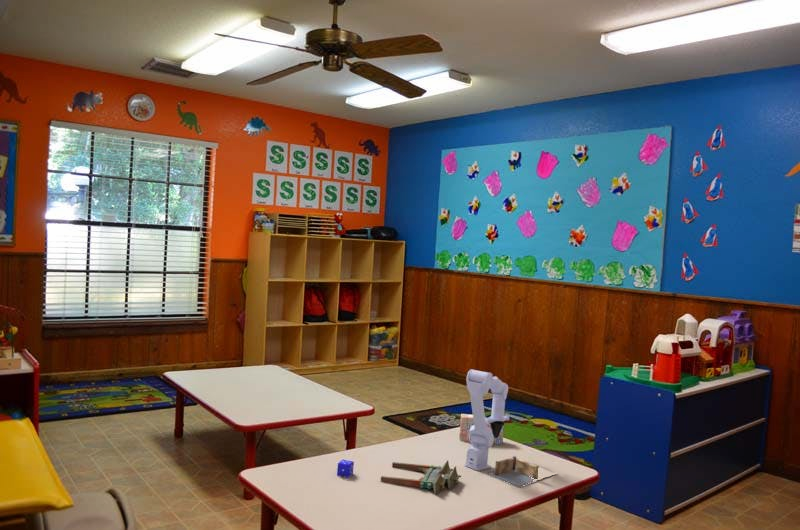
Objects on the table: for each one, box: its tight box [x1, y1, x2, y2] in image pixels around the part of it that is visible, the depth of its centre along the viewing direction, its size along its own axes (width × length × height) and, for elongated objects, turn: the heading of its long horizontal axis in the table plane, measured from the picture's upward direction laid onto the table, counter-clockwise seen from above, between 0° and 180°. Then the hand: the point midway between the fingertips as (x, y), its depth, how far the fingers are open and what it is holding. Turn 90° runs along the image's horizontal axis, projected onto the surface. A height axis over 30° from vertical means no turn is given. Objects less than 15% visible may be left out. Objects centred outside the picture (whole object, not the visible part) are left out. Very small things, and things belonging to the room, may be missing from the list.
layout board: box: [487, 470, 534, 488], centre depth 261 cm, size 28×16×1 cm, turn 134°
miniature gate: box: [380, 460, 462, 496], centre depth 246 cm, size 27×6×30 cm
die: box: [336, 459, 355, 478], centre depth 245 cm, size 5×5×5 cm
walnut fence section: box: [494, 455, 517, 476], centre depth 261 cm, size 14×2×6 cm, turn 134°
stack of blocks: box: [458, 413, 505, 445], centre depth 305 cm, size 21×6×12 cm, turn 87°
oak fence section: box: [515, 457, 540, 479], centre depth 259 cm, size 12×2×5 cm, turn 38°
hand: (495, 437), depth 281 cm, fingers closed
